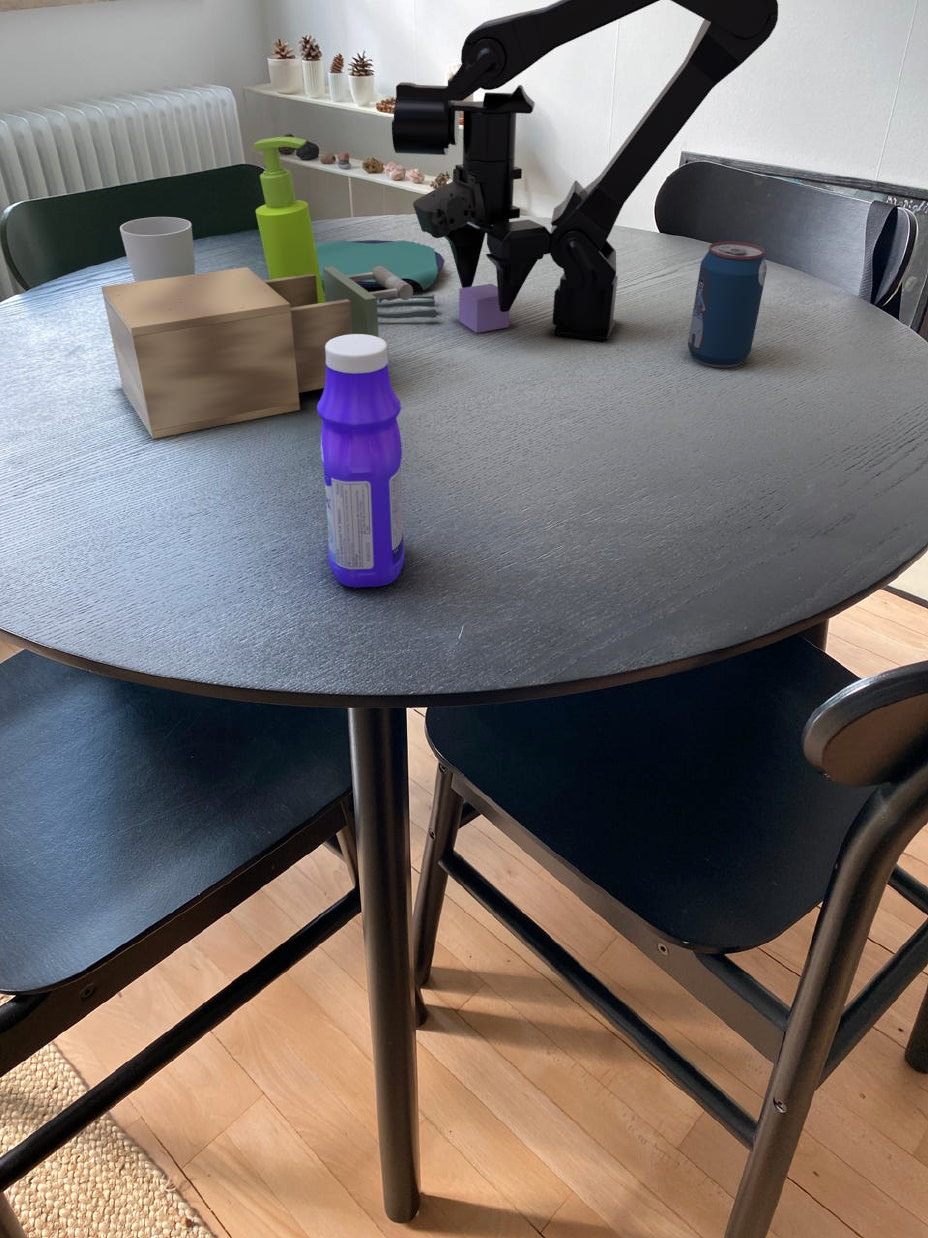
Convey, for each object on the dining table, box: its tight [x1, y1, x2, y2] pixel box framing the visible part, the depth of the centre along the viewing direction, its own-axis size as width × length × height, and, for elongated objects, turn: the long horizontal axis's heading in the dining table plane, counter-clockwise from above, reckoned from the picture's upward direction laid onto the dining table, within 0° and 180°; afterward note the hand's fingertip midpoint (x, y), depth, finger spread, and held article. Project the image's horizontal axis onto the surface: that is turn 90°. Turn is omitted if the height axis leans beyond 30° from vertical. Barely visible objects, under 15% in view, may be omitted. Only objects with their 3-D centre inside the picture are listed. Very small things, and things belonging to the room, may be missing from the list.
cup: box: [119, 216, 196, 282], centre depth 114 cm, size 8×8×10 cm
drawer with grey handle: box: [262, 266, 414, 393], centre depth 98 cm, size 18×11×9 cm, turn 118°
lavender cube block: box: [458, 283, 511, 334], centre depth 114 cm, size 4×4×4 cm
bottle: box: [316, 334, 405, 588], centre depth 67 cm, size 7×6×17 cm
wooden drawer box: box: [101, 266, 301, 440], centre depth 93 cm, size 15×13×11 cm
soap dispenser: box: [253, 136, 325, 304], centre depth 108 cm, size 6×7×20 cm
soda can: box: [687, 240, 768, 369], centre depth 104 cm, size 7×7×12 cm
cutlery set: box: [315, 239, 446, 319], centre depth 125 cm, size 20×30×2 cm, turn 4°
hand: (485, 299), depth 113 cm, fingers open, 9 cm apart
